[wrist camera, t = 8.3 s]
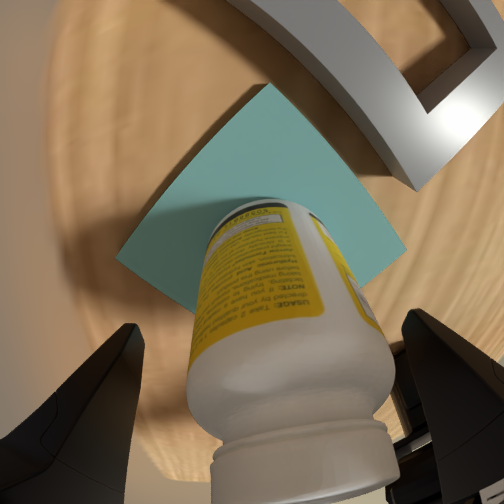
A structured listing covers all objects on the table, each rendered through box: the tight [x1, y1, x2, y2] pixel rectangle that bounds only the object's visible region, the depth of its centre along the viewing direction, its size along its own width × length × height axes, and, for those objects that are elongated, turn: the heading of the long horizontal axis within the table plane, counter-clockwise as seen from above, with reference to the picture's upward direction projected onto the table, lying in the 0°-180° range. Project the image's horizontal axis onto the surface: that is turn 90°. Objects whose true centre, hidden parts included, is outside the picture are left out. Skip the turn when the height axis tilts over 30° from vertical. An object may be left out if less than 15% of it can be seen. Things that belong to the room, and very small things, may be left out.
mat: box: [115, 83, 407, 314], centre depth 12 cm, size 10×10×1 cm
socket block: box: [225, 0, 504, 192], centre depth 6 cm, size 11×11×2 cm
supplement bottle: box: [186, 199, 400, 504], centre depth 8 cm, size 5×5×10 cm
